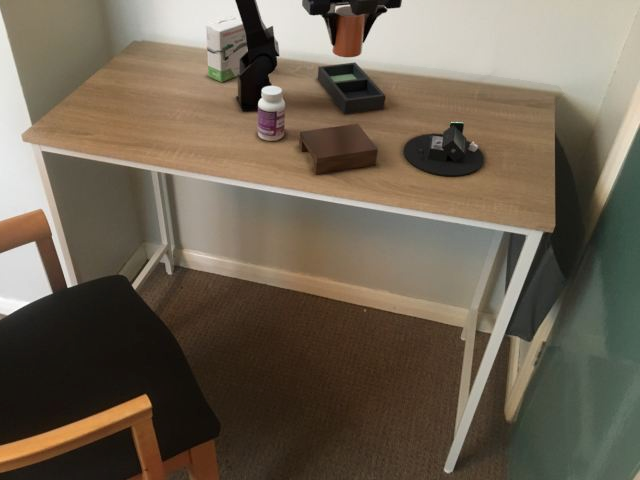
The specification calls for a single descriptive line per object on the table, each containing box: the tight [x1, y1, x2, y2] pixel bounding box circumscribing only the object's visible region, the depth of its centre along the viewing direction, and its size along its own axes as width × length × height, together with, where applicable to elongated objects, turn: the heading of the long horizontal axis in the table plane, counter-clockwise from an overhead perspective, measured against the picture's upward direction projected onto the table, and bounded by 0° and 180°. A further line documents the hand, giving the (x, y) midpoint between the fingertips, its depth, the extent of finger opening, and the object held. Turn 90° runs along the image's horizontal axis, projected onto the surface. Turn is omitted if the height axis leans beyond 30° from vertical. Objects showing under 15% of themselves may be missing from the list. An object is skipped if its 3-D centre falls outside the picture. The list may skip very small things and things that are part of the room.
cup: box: [332, 5, 366, 58], centre depth 122 cm, size 6×6×8 cm
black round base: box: [403, 121, 484, 178], centre depth 116 cm, size 15×15×6 cm
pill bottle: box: [257, 85, 286, 142], centre depth 120 cm, size 5×5×10 cm
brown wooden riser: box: [298, 123, 379, 175], centre depth 116 cm, size 12×10×4 cm
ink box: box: [205, 16, 247, 83], centre depth 140 cm, size 9×5×12 cm, turn 134°
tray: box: [317, 62, 386, 115], centre depth 135 cm, size 9×17×3 cm, turn 15°
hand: (347, 43), depth 124 cm, fingers closed on cup, 6 cm apart
